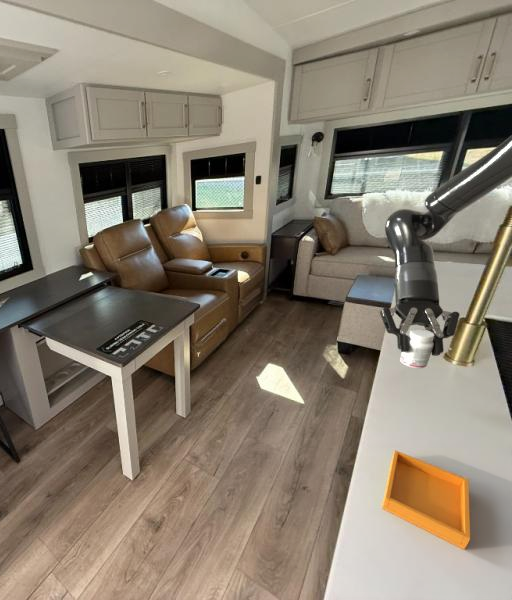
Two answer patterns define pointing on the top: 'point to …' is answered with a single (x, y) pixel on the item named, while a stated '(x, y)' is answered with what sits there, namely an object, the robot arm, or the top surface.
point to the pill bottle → (418, 348)
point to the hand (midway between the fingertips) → (420, 353)
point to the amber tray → (429, 498)
